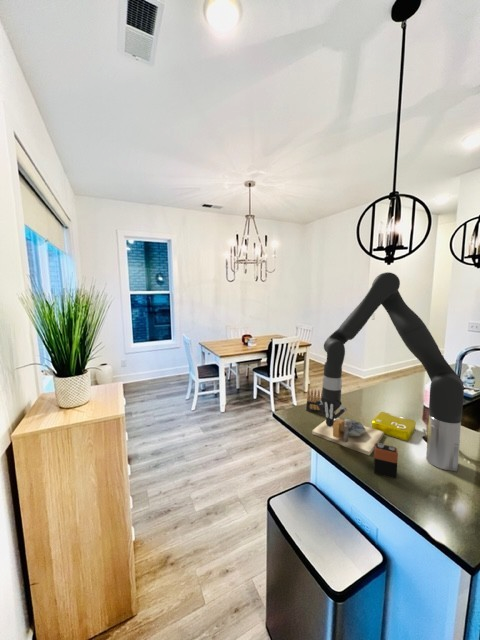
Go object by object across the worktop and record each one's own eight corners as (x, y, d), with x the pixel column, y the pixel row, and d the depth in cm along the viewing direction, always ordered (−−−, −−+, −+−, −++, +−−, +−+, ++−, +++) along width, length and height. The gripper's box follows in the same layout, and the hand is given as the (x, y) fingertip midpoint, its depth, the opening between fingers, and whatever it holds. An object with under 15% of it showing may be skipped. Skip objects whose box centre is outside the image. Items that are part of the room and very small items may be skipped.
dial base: (383, 435, 117) (384, 417, 116) (369, 455, 102) (370, 435, 101) (330, 418, 133) (331, 403, 132) (311, 434, 118) (312, 416, 117)
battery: (373, 466, 96) (374, 440, 95) (395, 471, 93) (396, 444, 92) (373, 474, 92) (375, 446, 91) (396, 479, 89) (398, 451, 88)
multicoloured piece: (340, 418, 126) (340, 406, 126) (368, 428, 117) (369, 415, 116) (321, 431, 115) (321, 418, 114) (351, 443, 105) (351, 429, 105)
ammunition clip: (306, 410, 142) (306, 388, 141) (306, 409, 144) (306, 387, 143) (327, 413, 138) (327, 391, 137) (327, 412, 140) (327, 390, 139)
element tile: (416, 429, 123) (416, 419, 122) (408, 442, 112) (409, 431, 111) (380, 419, 133) (381, 410, 132) (370, 430, 122) (371, 420, 122)
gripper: (313, 384, 113) (311, 423, 115) (343, 393, 104) (341, 435, 106) (321, 380, 118) (319, 417, 120) (351, 388, 109) (348, 428, 111)
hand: (329, 425), depth 113 cm, fingers closed
